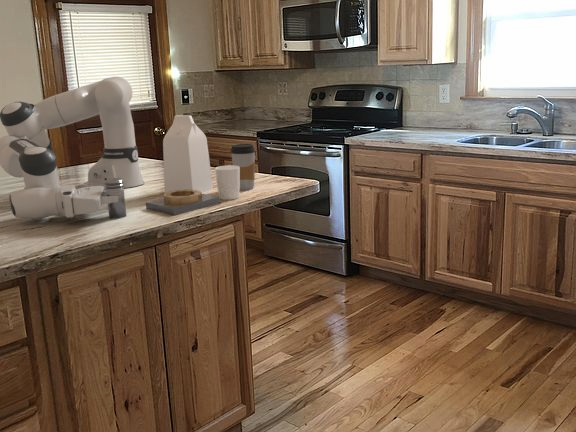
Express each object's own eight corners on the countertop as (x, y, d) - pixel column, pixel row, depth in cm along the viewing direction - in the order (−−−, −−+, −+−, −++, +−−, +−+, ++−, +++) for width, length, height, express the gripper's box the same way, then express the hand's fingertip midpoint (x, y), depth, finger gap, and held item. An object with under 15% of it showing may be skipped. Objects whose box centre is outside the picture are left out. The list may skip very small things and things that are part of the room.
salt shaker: (105, 218, 181) (101, 181, 179) (115, 213, 186) (111, 178, 183) (120, 218, 180) (116, 181, 177) (129, 214, 185) (126, 178, 182)
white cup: (217, 195, 205) (215, 166, 203) (241, 194, 206) (239, 164, 203) (216, 201, 197) (214, 170, 195) (241, 199, 198) (239, 168, 196)
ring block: (174, 215, 182) (172, 202, 181) (146, 208, 191) (145, 196, 190) (220, 203, 194) (219, 190, 193) (192, 197, 204) (191, 185, 203)
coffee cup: (253, 191, 210) (251, 147, 206) (230, 191, 211) (227, 147, 208) (259, 186, 218) (257, 143, 214) (236, 185, 219) (234, 143, 215)
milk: (213, 189, 216) (207, 114, 209) (193, 196, 206) (187, 117, 199) (185, 186, 221) (179, 113, 214) (164, 193, 211) (157, 117, 205)
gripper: (74, 203, 190) (121, 199, 192) (66, 219, 170) (118, 214, 173) (72, 182, 188) (119, 179, 191) (63, 196, 169) (115, 192, 171)
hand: (118, 196), depth 182 cm, fingers closed on salt shaker, 5 cm apart
